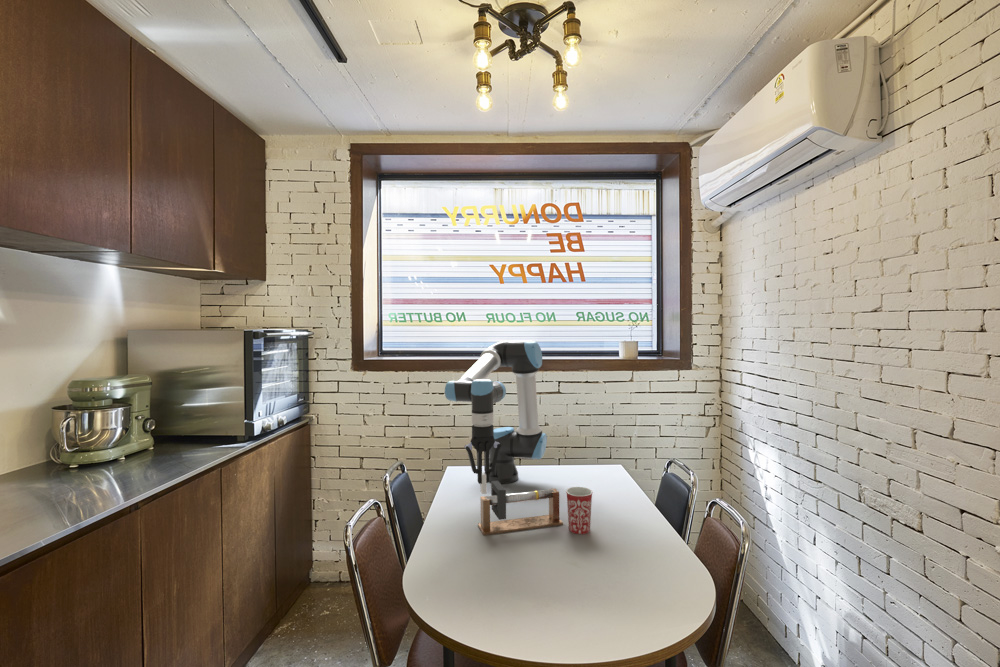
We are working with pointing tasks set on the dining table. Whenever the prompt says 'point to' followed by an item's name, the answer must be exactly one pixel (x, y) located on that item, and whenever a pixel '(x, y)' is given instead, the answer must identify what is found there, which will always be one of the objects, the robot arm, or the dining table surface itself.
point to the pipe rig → (520, 523)
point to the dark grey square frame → (499, 499)
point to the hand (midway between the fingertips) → (483, 492)
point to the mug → (579, 509)
